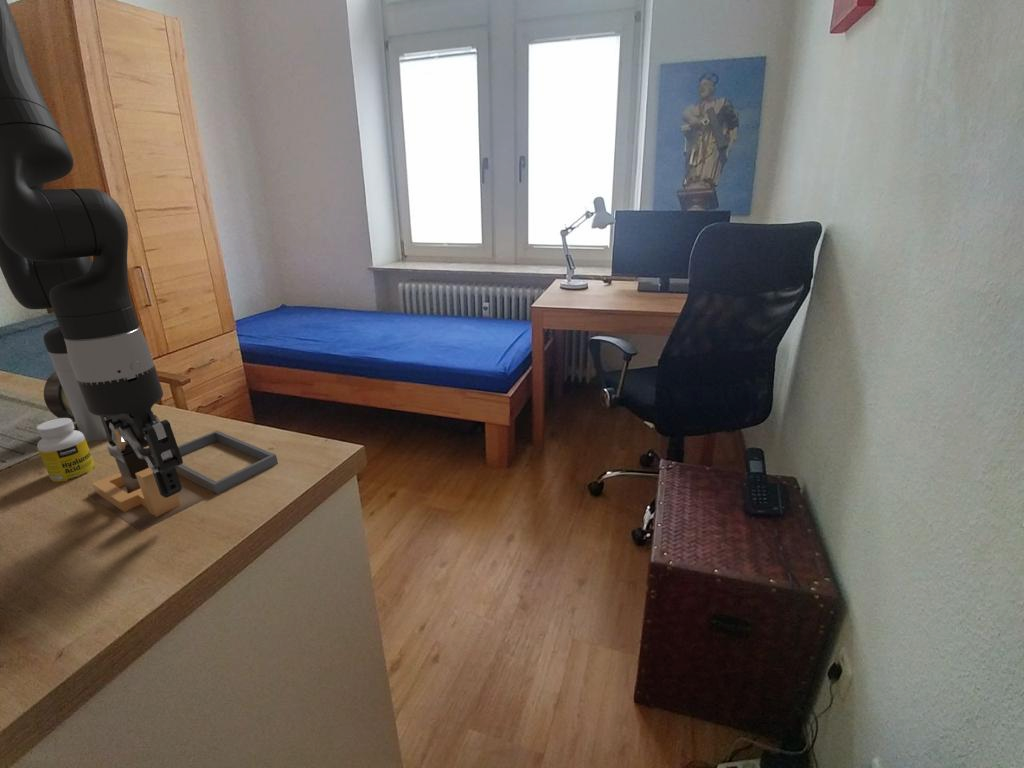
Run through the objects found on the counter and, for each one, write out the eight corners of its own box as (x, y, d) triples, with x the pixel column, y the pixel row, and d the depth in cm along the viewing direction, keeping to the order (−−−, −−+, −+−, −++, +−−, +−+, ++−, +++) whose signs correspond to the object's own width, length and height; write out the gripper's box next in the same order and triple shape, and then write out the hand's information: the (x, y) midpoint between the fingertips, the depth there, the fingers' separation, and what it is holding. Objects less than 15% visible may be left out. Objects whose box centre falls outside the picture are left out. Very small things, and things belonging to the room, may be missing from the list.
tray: (161, 471, 79) (156, 455, 78) (221, 445, 86) (216, 430, 85) (219, 502, 71) (214, 484, 69) (279, 471, 78) (275, 454, 77)
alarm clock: (76, 438, 91) (42, 353, 85) (52, 436, 92) (17, 352, 86) (130, 412, 101) (103, 335, 94) (108, 410, 102) (80, 334, 96)
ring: (95, 492, 71) (81, 455, 69) (145, 471, 76) (133, 436, 74) (142, 523, 64) (127, 484, 62) (193, 498, 69) (181, 460, 67)
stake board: (91, 503, 71) (70, 451, 68) (152, 476, 78) (135, 428, 74) (144, 540, 63) (123, 484, 60) (207, 507, 70) (191, 455, 66)
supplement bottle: (71, 492, 74) (46, 433, 70) (45, 487, 76) (19, 429, 72) (107, 473, 79) (85, 417, 75) (82, 468, 80) (59, 414, 77)
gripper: (53, 368, 60) (99, 483, 66) (104, 389, 53) (150, 516, 59) (124, 351, 66) (160, 458, 72) (179, 368, 59) (213, 485, 65)
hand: (155, 484), depth 65 cm, fingers open, 8 cm apart
